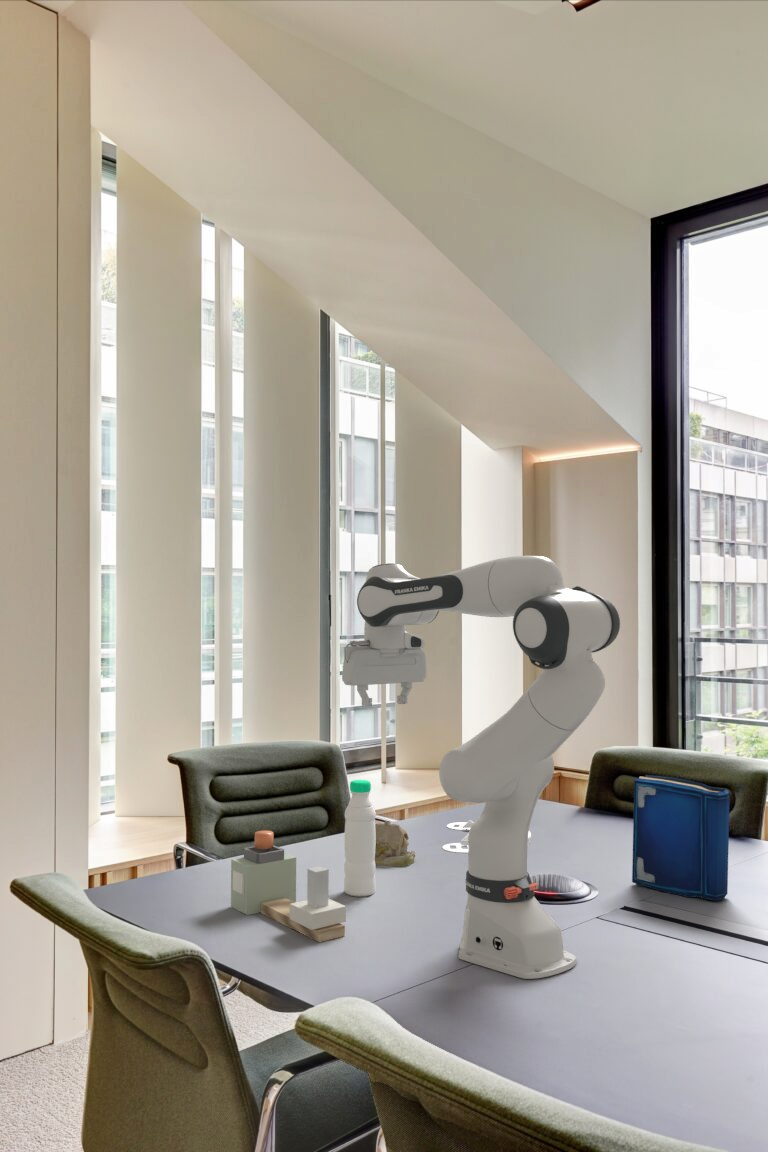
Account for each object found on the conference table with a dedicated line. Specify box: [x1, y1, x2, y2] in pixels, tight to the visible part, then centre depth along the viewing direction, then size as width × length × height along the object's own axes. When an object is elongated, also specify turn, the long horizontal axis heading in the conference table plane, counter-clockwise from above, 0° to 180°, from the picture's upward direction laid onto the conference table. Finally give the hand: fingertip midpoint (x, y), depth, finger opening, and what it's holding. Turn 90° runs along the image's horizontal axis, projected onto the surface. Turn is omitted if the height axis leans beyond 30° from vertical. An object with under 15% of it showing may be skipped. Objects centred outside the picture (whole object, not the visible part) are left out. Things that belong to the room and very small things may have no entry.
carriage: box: [290, 865, 347, 930], centre depth 187 cm, size 8×8×10 cm
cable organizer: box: [441, 819, 532, 854], centre depth 265 cm, size 35×24×3 cm
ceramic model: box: [375, 820, 416, 867], centre depth 241 cm, size 14×11×10 cm
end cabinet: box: [230, 844, 297, 916], centre depth 203 cm, size 7×12×12 cm, turn 128°
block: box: [260, 898, 346, 943], centre depth 191 cm, size 22×6×2 cm, turn 38°
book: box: [631, 774, 731, 902], centre depth 215 cm, size 22×7×25 cm, turn 47°
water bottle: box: [343, 779, 377, 898], centre depth 213 cm, size 7×7×25 cm
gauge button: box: [254, 830, 274, 849], centre depth 204 cm, size 4×4×3 cm
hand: (384, 705), depth 201 cm, fingers open, 8 cm apart
